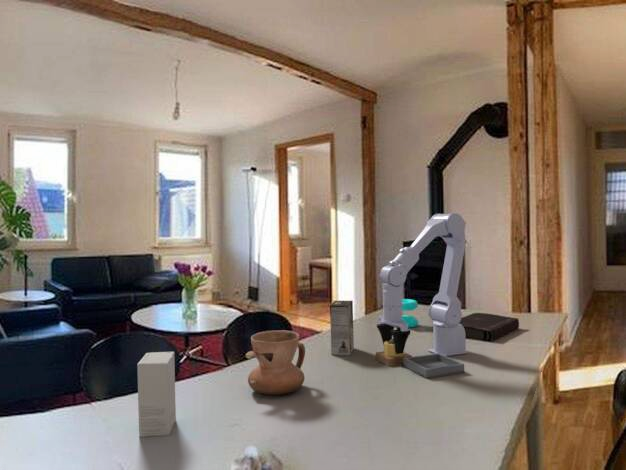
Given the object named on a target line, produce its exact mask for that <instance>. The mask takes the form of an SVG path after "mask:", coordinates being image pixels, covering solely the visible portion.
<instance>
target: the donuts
mask: <svg viewBox="0 0 626 470" xmlns="http://www.w3.org/2000/svg"><path fill="white" fill-rule="evenodd" d="M418 306H419V304H418V301H417V300H415V299H412V298H411V299H410V298H402V312H408V311H409V312H410V311H414V310H416V309H417V308H418ZM402 319H403V321H404V322H405V323H406V324H408V329H410V328H415V327H417V326H418V325H419V319H417V318H416V317H415V316H412V315H404V314H402Z"/></svg>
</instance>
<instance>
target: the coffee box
mask: <svg viewBox="0 0 626 470" xmlns="http://www.w3.org/2000/svg"><path fill="white" fill-rule="evenodd" d="M353 303H354V302H353V300H334V301H333V302H332V303H331V304H330V305H329V312H330V313H329V315H330V317H329V319H330V323H329V324H330V349H331V351H330V352H331V355H332V356H351V355H352V353H353V350H354V348H355V346H354V344H355V343H354V342H355V341H354V340H355V339H354V338H355V337H354V311H353V310H354V304H353Z"/></svg>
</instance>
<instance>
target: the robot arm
mask: <svg viewBox="0 0 626 470" xmlns="http://www.w3.org/2000/svg"><path fill="white" fill-rule="evenodd" d="M466 224H467V222H466V221H465V219H464V218H463V217H462V215H461V214H459V213H456V212H454V213H435V214H433V215H432V216H431V218H430V219H429V220H427V222H426V226H425V227H424V228H423V229H422V231H421V232H420V233H419V235H418V236H417V237H416V238H415V240H414V241H413V242H412V243H411V245H410V246H405V247H403V248H400V249H399V250H398V251H399V253H398V254H397V255H396V256H395V257H394V258H393V260H390V261H389V264H387V265H385V266H383V267H382V268H381V270H380V273H379V274H378V280H379V281H380V282H381V285H382V305H383V307H382V311H383V313H382V315H379V316H378V321H379V324H376V328H377V329H378V332H379V334H380V337H381V341H382V344H383V346H384V342H385V341H390V339H394V343H395V351H396V354H401V353H403V352H404V351H405V347H406V343H407V341H408V338H409V336H410V334H411V330H410V329H409V328H408V324H406V323H405V322H404V321H403V319H402V316H403V311H402V299H403V284H404V283H405V282H406V279H407V274H408V272H410V270H411V269H412V268H413V267H414V265H416V264H417V262H418V261H419V260H420V255H419V254H420V253H421V252H422V251H424V249H425V248H426V247H428V246H429V244H430V243H432V242H433V240H434V239H435V238H437V237H440V238H442V240H443V241H444V243H446V249H445V256H444V263H443V266H442V267H443V268H442V272H441V279H440V283H439V284H440V285H439V290H438V293H436V294H435V295H434V297H433V298H432V302H431V303H430V305H429V306H428V316H429V318H430V320H432V321H431V322H432V325H433V330H432V331H433V348H428V350H427V351H428V352H431V353H432V354H436V353H440V354H442V355H444V356H447V357H450V356H456V355H464V354H468V351H467V350H466V349H467V347H466V345H467V343H466V340H467V338H465V329H464V327H463V326H462V325H461V324H459V322H460V321H461V318H462V317H463V314H462V302H461V301H460V298H458V290H459V283H460V279H461V278H460V277H461V273H462V268H463V267H462V266H463V262H464V254H465V251H466V250H465V249H466V244H467V243H466V242H467V240H466V239H467V237H466V233H465V231H466Z"/></svg>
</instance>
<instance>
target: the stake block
mask: <svg viewBox="0 0 626 470" xmlns="http://www.w3.org/2000/svg"><path fill="white" fill-rule="evenodd" d="M390 344H395V343H394V339H393V338H392V339H390ZM407 357H413V355H412V354H409V353H407V352H403V355H402V356H398V357H391V356H386V355H384V350H383V351H376V352H375V359H376V360H377V361H379V362H380V363H382V364H384V365H386V366H388V367H391V366H399V365H403V358H407Z"/></svg>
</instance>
